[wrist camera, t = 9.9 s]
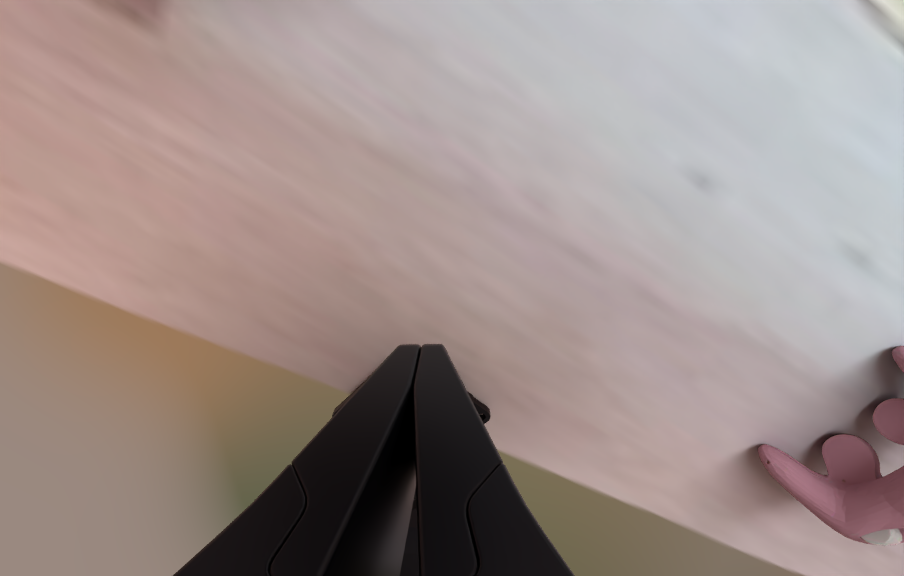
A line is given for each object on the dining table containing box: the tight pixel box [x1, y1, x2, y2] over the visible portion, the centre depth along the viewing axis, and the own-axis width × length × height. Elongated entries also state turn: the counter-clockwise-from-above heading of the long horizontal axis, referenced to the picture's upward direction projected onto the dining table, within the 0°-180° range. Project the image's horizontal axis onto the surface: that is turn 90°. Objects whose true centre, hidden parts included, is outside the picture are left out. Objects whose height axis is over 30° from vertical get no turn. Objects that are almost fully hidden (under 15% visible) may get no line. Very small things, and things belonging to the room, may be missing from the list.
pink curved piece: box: [758, 346, 904, 546], centre depth 25 cm, size 10×5×7 cm, turn 149°
